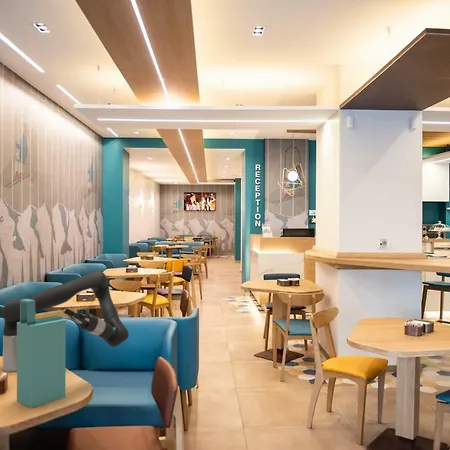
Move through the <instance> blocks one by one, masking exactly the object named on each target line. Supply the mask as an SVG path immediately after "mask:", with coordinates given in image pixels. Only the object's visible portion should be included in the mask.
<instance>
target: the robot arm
mask: <svg viewBox="0 0 450 450" xmlns="http://www.w3.org/2000/svg"><path fill="white" fill-rule="evenodd" d="M85 290H92V291H93V294H94V295H95V296H96V298H97V301H98V303H99V308H100V313H101V316H102V319H101V318H100V317H98V316H96V315H94V314H93V313H89V312H88V313H81V312H78V311H77V312H74V311H72V310H69V308H64V307H61V308H60V310H63V309H66V310H65V314H67V315H69V316H72V317H67V319H69V320H72V321H74V322H75V323H76V324H79V328H80V329H81V330H83V331H85V332H87V333H89V334H92V335H94V336H96V337H99V338H101V339H102V340H103V341H104V342H106V343H107V344H108V345H109V347H112V348H113V347H114V348H116V347H118V346H119V345H121V344H122V343H124V342H126V340H128V338H129V335H130V334H129V330H128V329H127V327H126V326H125V325H124V323H123V322H122V320H121V319H120V316H119V314H118V312H117V308H116V307H115V305H114V302H113V300H112V296H111V293H110V287H109V280H108V278H107V276H106V274H105V273H104V272H103V271H102V270H94V271H91V272H88V273H86V274H84V275H82V276H79V277H78V278H76V279H72V280H69V281H68V282H64V283H62V284H59V285H56V286H52V287H49V288H46V289H45V290H42V291H40V292H39V293H37V294H35V295H33V296H31V297H28V298H27V299H31V300H35V313H36V312H40V311H44V310H46V309H51V308H53V307H56V306H59V305H62V304H64V303H67V302H68V301H69V300H71V299H72V298H73V297H75V296H76V295H77V294H78V293H80V292H83V291H85ZM0 313H1V317H2V319H3V320H4V324H3V325H4V326H3V328H2V329H3V330H2V337H3V338H2V371H3V372H7V373H8V372H9V373H13V372H17V322H20V300H17V299H16V300H15V299H14V300H10V301H9V302H8V303H5V305H4V306H3V307H2V308H1V312H0ZM114 328H115V329H114Z"/></svg>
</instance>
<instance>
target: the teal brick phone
mask: <svg viewBox="0 0 450 450" xmlns="http://www.w3.org/2000/svg"><path fill="white" fill-rule="evenodd" d="M19 301H20V322H17V371H16V402H18V403H20V405H21V404H22V405H24V406H26V407H28V408H30V409H33V408H36V407H39V406H43V405H45V404H46V405H47V404H49V403H51V402H55V401H58V400H61V399H63V398H66V360H67V359H66V354H67V353H66V339H67V338H66V321H67V320H66V319H65V318H62V316H58V317H53V318H47V319H41V320H36V321H35V314H36V312H35V300H31V299H28V298H23V299H20V300H19Z"/></svg>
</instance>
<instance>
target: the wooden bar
mask: <svg viewBox="0 0 450 450" xmlns="http://www.w3.org/2000/svg"><path fill="white" fill-rule="evenodd" d="M66 309H67V308H65V309H63V310H61V309H58V310H53V311H46V312H40V313H35V321H36V320H41V319H47V318H53V317H58V316H62V319H66V318H67V319H68V317H72V316H69V315H67V314H65V310H66ZM68 309H69V310H72V311H74V312H77V313H78V308H75V307H70V308H68Z"/></svg>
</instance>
